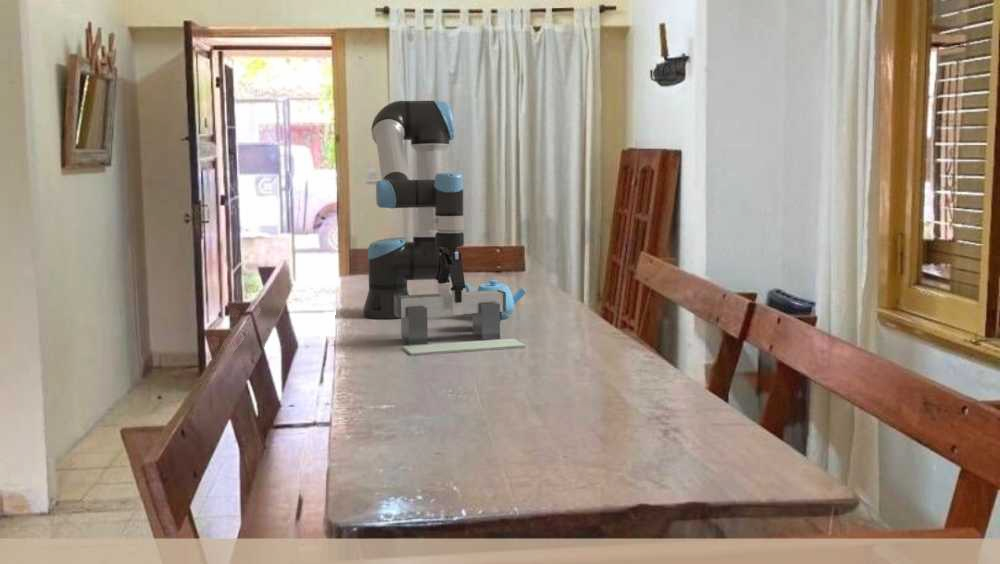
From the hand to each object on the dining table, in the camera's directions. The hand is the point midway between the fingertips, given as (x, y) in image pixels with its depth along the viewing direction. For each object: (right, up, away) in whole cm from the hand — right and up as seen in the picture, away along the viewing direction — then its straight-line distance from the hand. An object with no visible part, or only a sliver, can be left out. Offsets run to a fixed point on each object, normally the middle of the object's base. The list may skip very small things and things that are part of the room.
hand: (450, 310), depth 269 cm
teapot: (+11, -3, +33) cm, 35 cm away
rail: (0, -1, 0) cm, 1 cm away
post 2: (+9, -7, +4) cm, 13 cm away
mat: (+4, -9, -11) cm, 15 cm away
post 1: (-10, -8, -2) cm, 13 cm away
